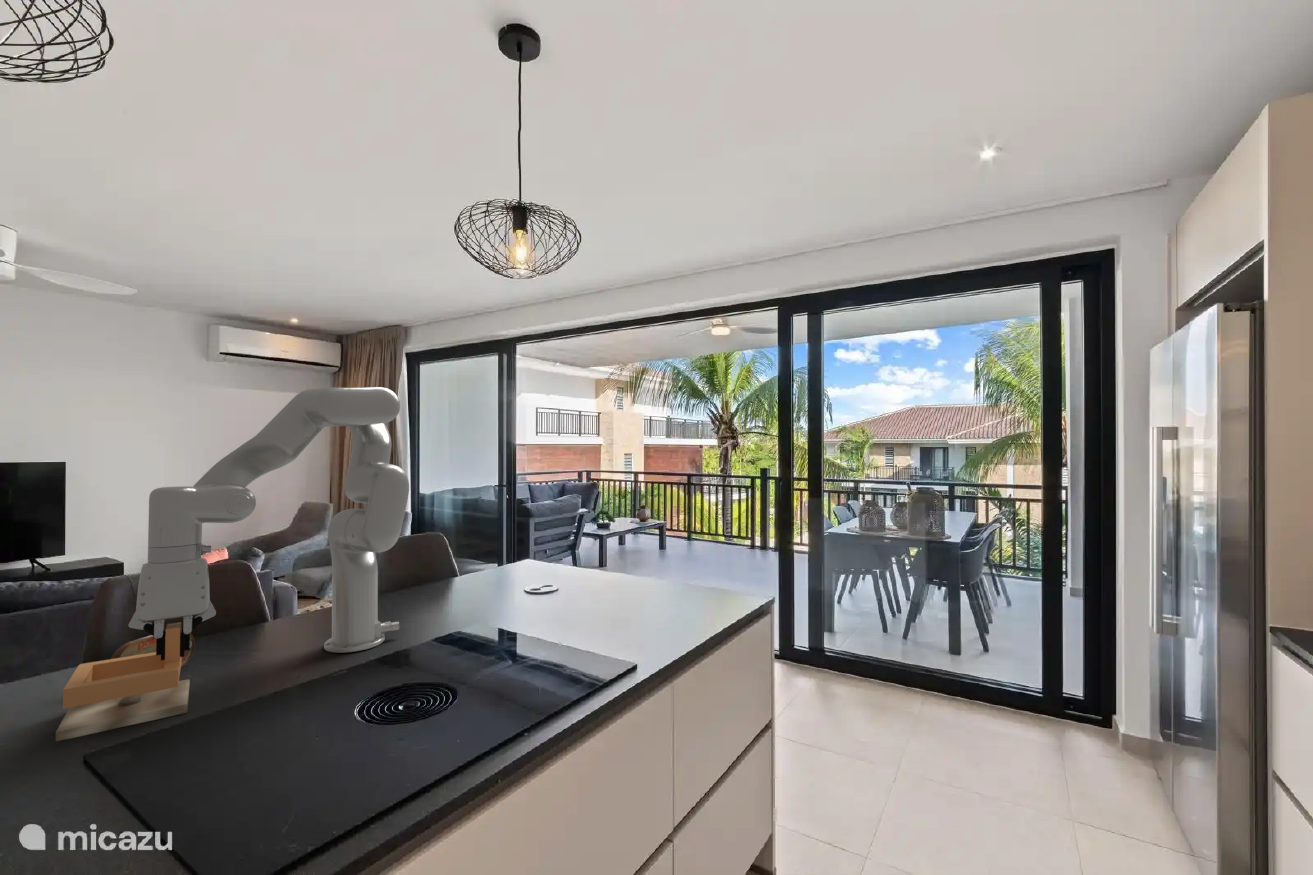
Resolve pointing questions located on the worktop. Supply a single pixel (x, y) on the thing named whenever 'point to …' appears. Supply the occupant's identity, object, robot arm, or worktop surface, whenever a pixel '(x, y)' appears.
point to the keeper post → (129, 699)
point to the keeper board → (123, 712)
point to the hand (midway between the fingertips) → (173, 655)
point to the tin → (148, 648)
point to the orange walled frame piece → (112, 677)
